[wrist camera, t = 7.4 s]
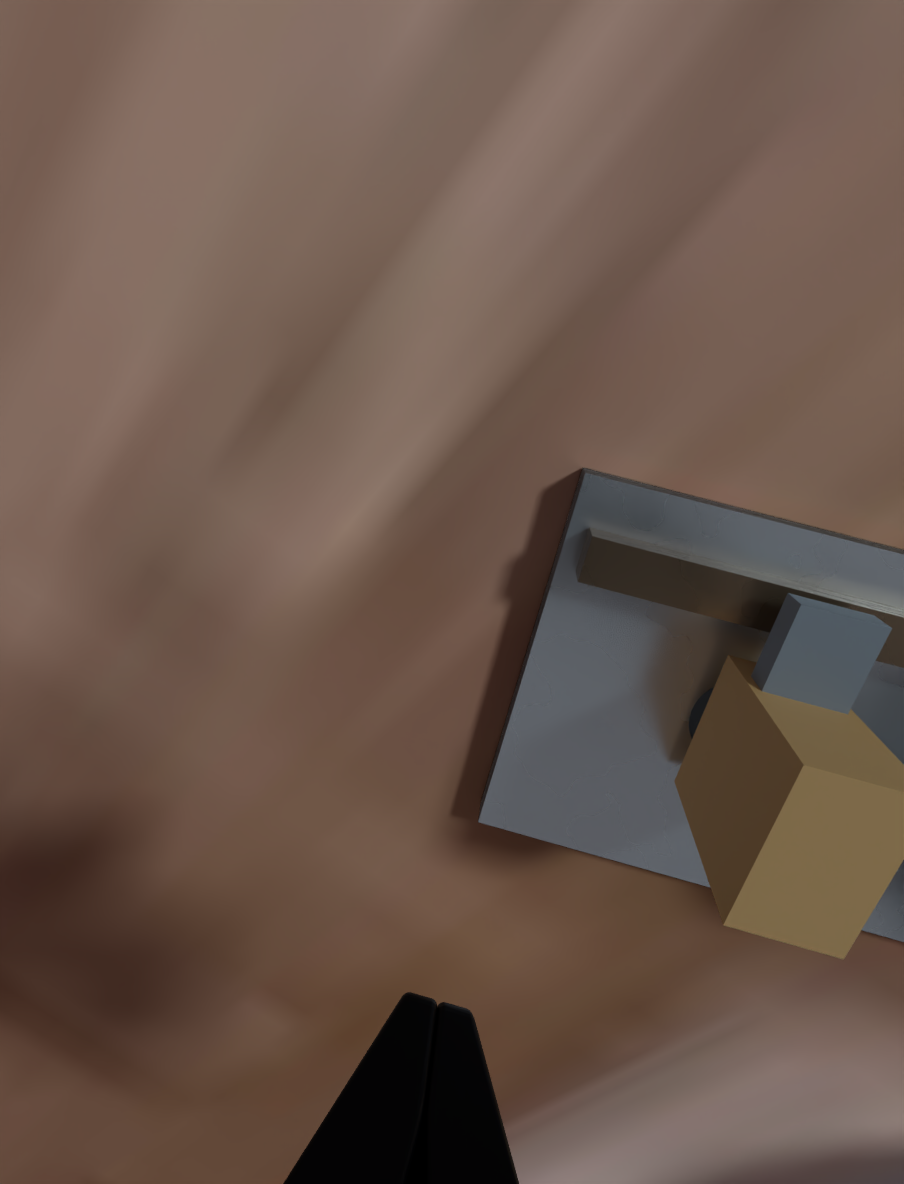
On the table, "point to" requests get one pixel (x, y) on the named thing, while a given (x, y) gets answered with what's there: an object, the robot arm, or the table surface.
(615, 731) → the plate
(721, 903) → the leg
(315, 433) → the table surface
